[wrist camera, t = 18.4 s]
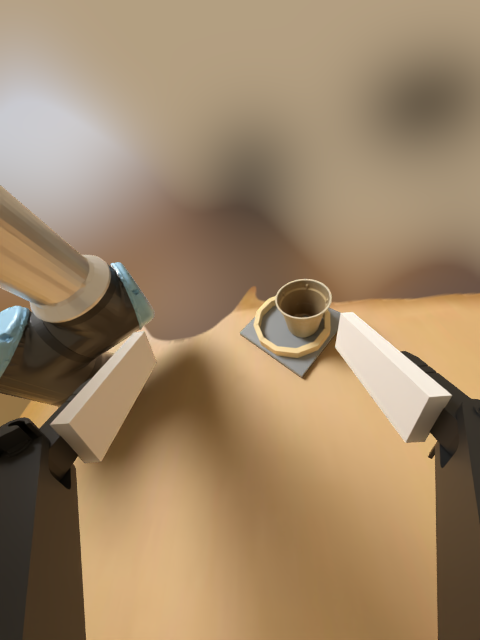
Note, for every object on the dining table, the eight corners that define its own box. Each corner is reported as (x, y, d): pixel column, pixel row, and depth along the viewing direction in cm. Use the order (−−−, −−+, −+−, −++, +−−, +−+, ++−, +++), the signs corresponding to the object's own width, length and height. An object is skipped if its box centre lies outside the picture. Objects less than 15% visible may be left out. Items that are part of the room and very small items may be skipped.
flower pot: (277, 311, 44) (273, 283, 38) (321, 304, 42) (324, 274, 36) (282, 347, 39) (277, 322, 32) (332, 342, 37) (338, 314, 30)
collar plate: (240, 334, 44) (237, 327, 42) (283, 290, 49) (282, 282, 47) (301, 378, 35) (301, 371, 33) (347, 318, 40) (349, 309, 37)
